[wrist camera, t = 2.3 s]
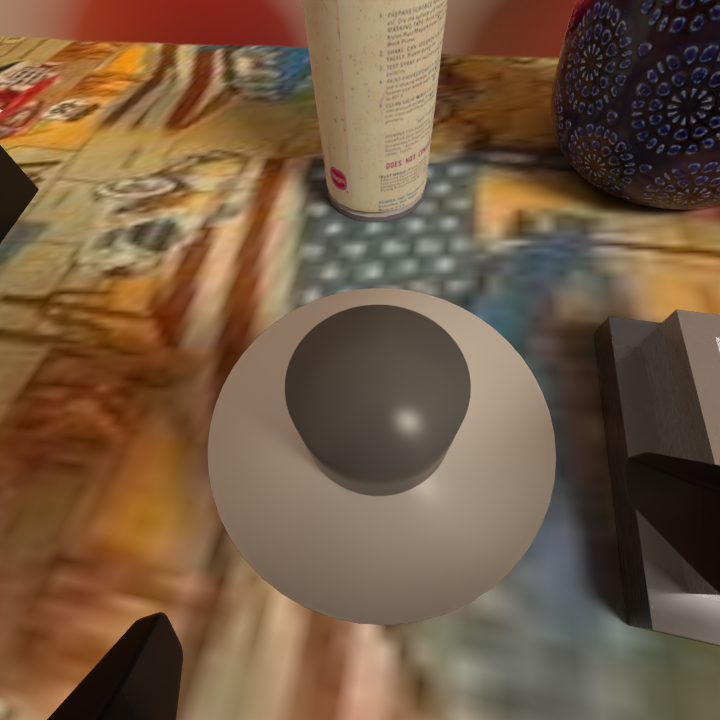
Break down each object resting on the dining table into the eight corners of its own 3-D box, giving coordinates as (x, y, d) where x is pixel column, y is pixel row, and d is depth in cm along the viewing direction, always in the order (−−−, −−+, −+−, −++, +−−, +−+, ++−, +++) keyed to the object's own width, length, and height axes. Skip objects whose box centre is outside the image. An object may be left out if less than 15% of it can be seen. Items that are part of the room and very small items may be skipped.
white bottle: (415, 630, 14) (525, 794, 3) (282, 545, 16) (64, 468, 5) (472, 484, 17) (643, 301, 6) (352, 423, 18) (310, 193, 7)
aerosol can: (376, 148, 29) (370, -468, 12) (445, 186, 27) (564, -532, 10) (308, 191, 27) (184, -488, 10) (376, 237, 25) (369, -577, 7)
